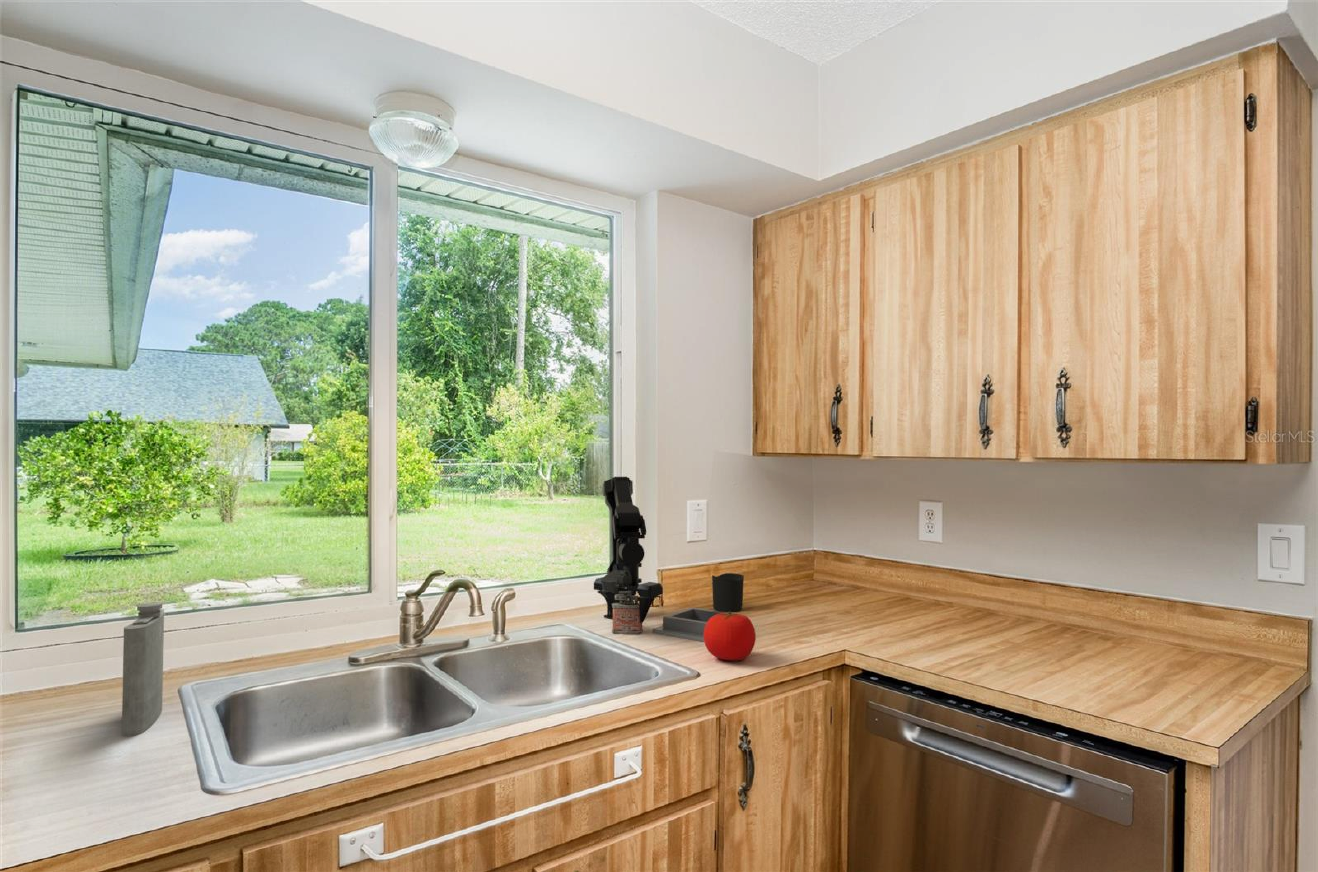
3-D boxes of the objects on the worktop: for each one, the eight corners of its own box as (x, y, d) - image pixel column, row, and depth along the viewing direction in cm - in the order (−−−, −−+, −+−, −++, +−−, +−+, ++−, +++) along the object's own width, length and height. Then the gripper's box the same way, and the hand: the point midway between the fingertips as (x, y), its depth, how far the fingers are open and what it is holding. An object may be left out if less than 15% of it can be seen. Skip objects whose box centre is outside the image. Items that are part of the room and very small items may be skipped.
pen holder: (745, 612, 209) (745, 578, 209) (713, 612, 209) (713, 578, 209) (741, 605, 218) (741, 573, 218) (711, 605, 218) (711, 572, 218)
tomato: (761, 654, 165) (761, 608, 165) (745, 669, 154) (744, 620, 154) (715, 649, 170) (715, 604, 170) (696, 662, 159) (696, 614, 159)
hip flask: (143, 706, 131) (145, 596, 131) (169, 702, 132) (171, 594, 133) (119, 737, 116) (121, 614, 117) (149, 733, 118) (151, 611, 119)
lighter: (643, 631, 186) (643, 593, 186) (642, 635, 183) (642, 595, 183) (613, 631, 187) (613, 592, 187) (610, 634, 183) (611, 595, 184)
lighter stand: (652, 632, 185) (652, 617, 185) (689, 619, 200) (689, 605, 200) (712, 643, 175) (712, 626, 175) (746, 628, 190) (746, 613, 190)
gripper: (579, 560, 184) (579, 621, 184) (637, 566, 173) (637, 631, 173) (607, 555, 193) (607, 613, 193) (664, 561, 182) (663, 622, 182)
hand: (627, 619), depth 185 cm, fingers open, 9 cm apart
